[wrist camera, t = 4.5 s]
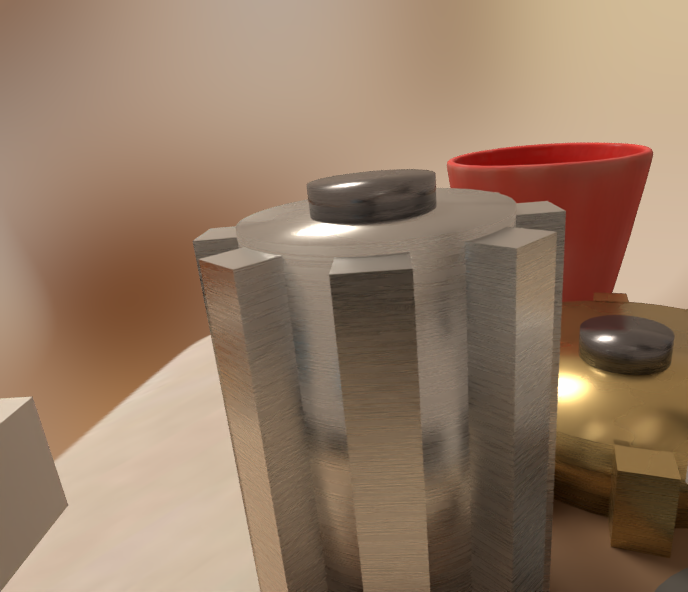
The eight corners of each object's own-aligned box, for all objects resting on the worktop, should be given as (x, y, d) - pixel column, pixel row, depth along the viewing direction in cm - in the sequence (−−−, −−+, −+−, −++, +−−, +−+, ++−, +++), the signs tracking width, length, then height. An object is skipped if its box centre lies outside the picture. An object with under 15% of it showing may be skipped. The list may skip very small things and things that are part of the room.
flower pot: (613, 359, 26) (630, 160, 23) (422, 323, 33) (414, 165, 30) (652, 293, 34) (668, 138, 31) (490, 275, 41) (490, 145, 37)
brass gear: (705, 333, 26) (715, 264, 25) (1024, 551, 13) (1075, 430, 12) (422, 349, 27) (419, 285, 26) (460, 562, 14) (457, 454, 13)
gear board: (702, 349, 26) (705, 325, 26) (1899, 1235, 6) (2013, 1187, 5) (326, 370, 28) (324, 348, 28) (176, 1103, 7) (156, 1060, 7)
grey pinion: (509, 504, 16) (512, 148, 13) (594, 762, 10) (647, 187, 6) (291, 510, 17) (238, 173, 13) (237, 758, 10) (108, 232, 7)
